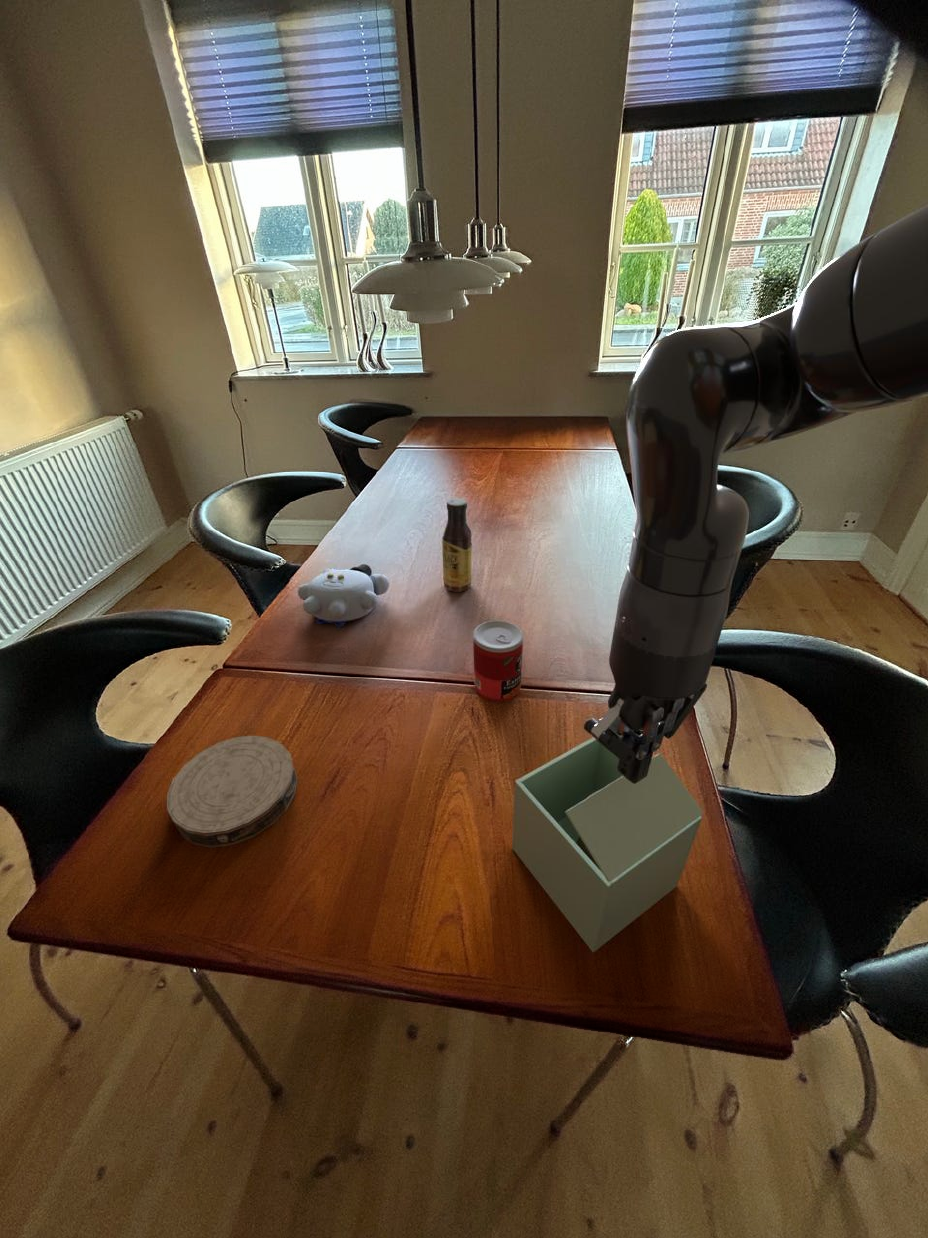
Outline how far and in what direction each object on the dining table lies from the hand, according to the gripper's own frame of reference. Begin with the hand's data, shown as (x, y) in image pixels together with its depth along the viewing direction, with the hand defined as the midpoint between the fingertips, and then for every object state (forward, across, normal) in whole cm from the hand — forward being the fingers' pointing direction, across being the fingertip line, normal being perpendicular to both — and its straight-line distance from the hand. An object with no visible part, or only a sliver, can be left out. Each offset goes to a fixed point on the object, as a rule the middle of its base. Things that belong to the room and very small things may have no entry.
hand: (632, 774), depth 50 cm
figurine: (+19, -2, +73) cm, 76 cm away
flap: (+4, 0, -1) cm, 5 cm away
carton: (+19, 0, +2) cm, 19 cm away
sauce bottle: (+19, +21, +66) cm, 72 cm away
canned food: (+19, +9, +34) cm, 40 cm away
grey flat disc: (+19, -33, +36) cm, 53 cm away
